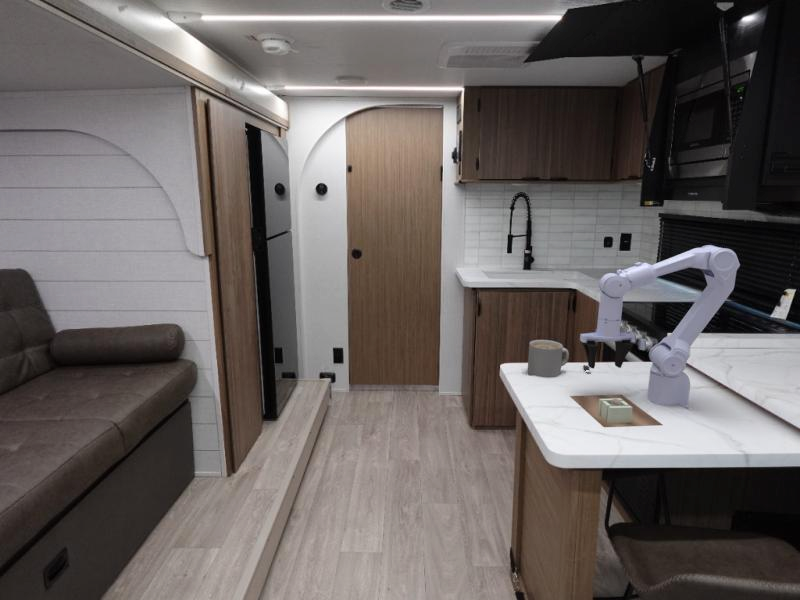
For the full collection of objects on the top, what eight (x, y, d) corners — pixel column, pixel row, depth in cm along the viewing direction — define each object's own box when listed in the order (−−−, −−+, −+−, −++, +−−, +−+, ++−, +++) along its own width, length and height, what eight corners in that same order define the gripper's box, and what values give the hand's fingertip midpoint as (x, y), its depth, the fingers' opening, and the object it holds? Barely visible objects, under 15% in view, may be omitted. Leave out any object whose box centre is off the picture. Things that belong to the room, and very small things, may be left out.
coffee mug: (535, 381, 151) (537, 349, 149) (522, 370, 161) (524, 340, 159) (576, 379, 153) (579, 348, 151) (561, 368, 163) (564, 339, 161)
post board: (621, 397, 139) (623, 377, 138) (662, 428, 121) (665, 405, 119) (569, 399, 138) (571, 378, 136) (603, 431, 119) (605, 407, 118)
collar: (618, 413, 127) (620, 398, 126) (630, 422, 121) (632, 407, 121) (597, 413, 126) (599, 398, 126) (608, 423, 121) (610, 408, 120)
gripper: (627, 314, 138) (622, 361, 141) (576, 315, 137) (572, 362, 139) (641, 320, 131) (636, 370, 134) (588, 321, 130) (584, 371, 132)
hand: (604, 366), depth 136 cm, fingers open, 7 cm apart
